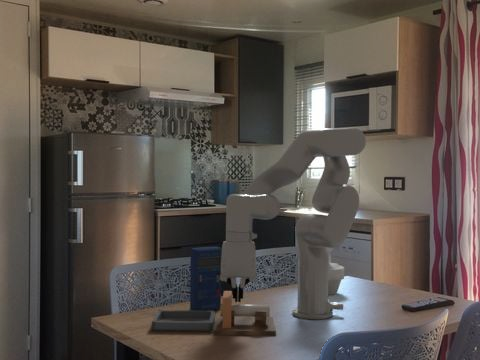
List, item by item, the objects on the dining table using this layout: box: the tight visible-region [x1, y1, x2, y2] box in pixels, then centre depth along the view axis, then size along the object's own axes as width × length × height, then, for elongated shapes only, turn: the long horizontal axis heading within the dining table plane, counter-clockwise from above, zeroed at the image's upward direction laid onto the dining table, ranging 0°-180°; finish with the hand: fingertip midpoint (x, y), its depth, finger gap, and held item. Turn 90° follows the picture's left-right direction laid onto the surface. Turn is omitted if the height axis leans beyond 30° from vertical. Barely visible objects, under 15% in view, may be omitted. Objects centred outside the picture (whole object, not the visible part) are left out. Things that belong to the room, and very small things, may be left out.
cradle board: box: [213, 310, 277, 336], centre depth 156 cm, size 17×14×6 cm
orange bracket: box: [222, 290, 233, 328], centre depth 156 cm, size 2×10×8 cm, turn 0°
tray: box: [151, 309, 216, 333], centre depth 158 cm, size 17×13×3 cm
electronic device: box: [189, 245, 222, 311], centre depth 176 cm, size 10×5×20 cm, turn 121°
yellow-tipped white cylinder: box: [219, 303, 271, 317], centre depth 157 cm, size 14×4×4 cm, turn 90°
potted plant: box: [326, 240, 346, 296], centre depth 202 cm, size 13×12×25 cm
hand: (237, 301), depth 156 cm, fingers closed
